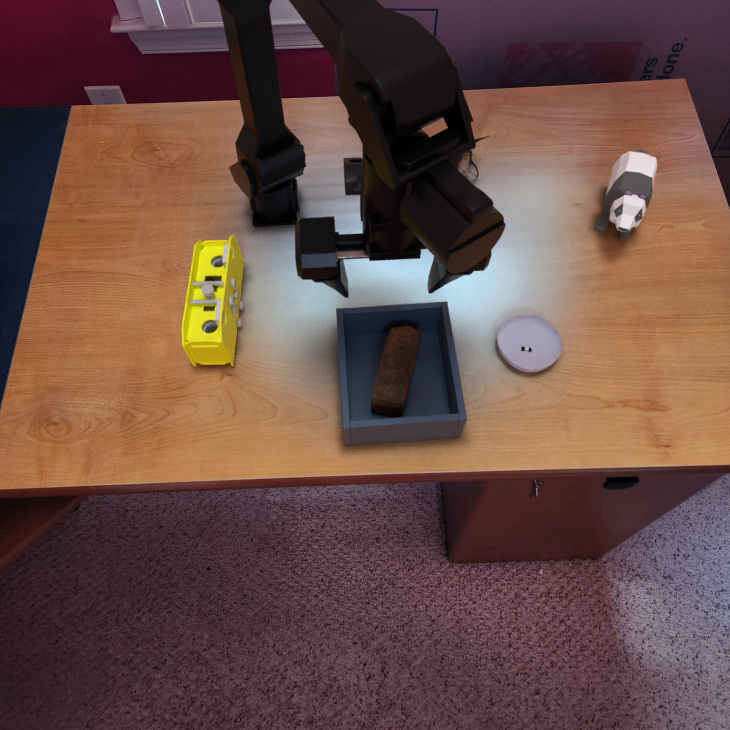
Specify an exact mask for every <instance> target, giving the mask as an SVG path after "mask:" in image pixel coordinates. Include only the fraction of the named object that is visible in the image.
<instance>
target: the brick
mask: <svg viewBox="0 0 730 730" xmlns="http://www.w3.org/2000/svg"><path fill="white" fill-rule="evenodd" d="M421 338H422V332H421V331H419V330H418V329H414V328H413V327H411V326H402V327H393V328H392V329H391V330H390V332H389V335H388V338H387V342H386V345H385V348H384V352H383V355H382V359H381V362H380V366H379V370H378V374H377V378H376V381H375V385H374V389H373V392H372V397H371V412H373V413H377V414H381V415H386V416H390V417H394V418H399V416H401V415H403V413H404V410H405V404H406V401H407V397H408V392H409V389H410V385H411V381H412V376H413V372H414V368H415V364H416V361H417V356H418V352H419V348H420V343H421Z"/></svg>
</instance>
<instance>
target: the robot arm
mask: <svg viewBox="0 0 730 730" xmlns="http://www.w3.org/2000/svg"><path fill="white" fill-rule="evenodd" d="M216 2H217V3H218V7H219V11H220V15H221V20H222V25H223V30H224V34H225V39H226V43H227V48H228V52H229V57H230V62H231V69H232V71H233V76H234V82H235V87H236V91H237V96H238V100H239V105H240V110H241V115H242V120H243V124H242V127H241V129H240V131H239V133H238V135H237V138H236V140H235V152H236V157H237V161H236V162H234V163H233V164H231V165H230V166H228V169H229V171H230V174H231V177H232V178H233V179H232V180H233V181H234V183H235V184H236V186H237V187H238V188H239V189H240V190H241V191H242V193H243V194H244V195H245V197H247V199H248V202H249V206H250V209H251V224H252V225H251V226H252V227H254V228H265V227H266V228H267V227H281V226H294V260H295V269H296V274H297V277H298V278H300V279H301V280H303V281H310V280H311V281H312V282H313V283H316V284H323V285H326V286H328V287H329V288H331V289H333V290H335V291H336V292H337V293H339V294H340V295H341V296H342V297H344V298H345V299H346V298H348V299H349V297H350V291H349V278H348V275H347V270H346V266H345V262H344V260H359V259H360V260H362V259H368V261H369V262H378V261H398V260H401V261H402V260H418V259H421V255H422V250H427V251H429V253H431V255H432V256H433V258H432V261H431V262H432V263H431V266H430V269H429V272H428V275H427V276H428V277H427V284H426V285H427V292H428V294H433V293H435V292H436V291H438V290H439V289H441V288H443V287H445V286H446V285H448V284H449V283H451V282H453V281H455V280H457V279H459V278H460V279H461V278H462V277H464V276H470V275H472V274H473V273H474V272H484V271H485V270H486V269H487V268H488V267H489V265H490V261H491V258H492V253H493V251H492V250H493V249H494V247H495V246H496V245H497V244H498V242H499V241H500V239H501V237H502V236H503V234H504V231H505V229H506V224H507V223H506V222H505V217H504V216H503V213H501V212H500V211H499V210H498V209H497V208H496V207H495V206H494V201H493V199H492V198H491V197H490V196H489V195H488V194H486V192H484V190H482V189H480V188H479V187H477V186H476V185H475V184H473V183H472V181H471V180H469V178H468V179H467V177H466V175H464V174H463V173H462V171H460V170H459V163H460V162H459V159H460V156H461V155H463V156H464V154H465V153H467V152H469V151H474V149H476V147H477V145H476V144H477V143H475V139H476V138H475V136H474V132H473V131H474V130H473V127H472V122H474V118H473V116H472V112H471V110H470V108H469V105H468V102H467V99H466V97H465V93H464V91H463V87H462V83H461V79H460V75H459V72H458V67H457V66H456V61H455V60H454V59H453V57H452V55H451V54H450V52H449V50H448V49H447V48H446V47H445V45H444V44H443V43H442V42H441V41H440V40H439V39H438V38H436V36H435V35H433V34H432V33H431V32H430V31H429V30H428V28H426V27H425V26H424V25H423V24H422V23H421V22H420V21H418V20H417V19H416V18H415V17H412V16H409V15H406V14H403V13H401V12H398V11H395V10H392V9H389V8H386V7H385V6H384V5H383V4H382V3H380V2H379V0H288V2H289V3H290V4H291V5H292V7H293V8H294V10H295V11H296V12H297V13H298V15H299V16H300V18H301V19H302V20H303V22H304V23H305V24H306V26H308V28H309V30H310V31H311V32H312V33H313V35H314V36H315V38H316V39H317V40H318V41H319V43H320V44H321V45H322V47H323V49H325V51H326V53H328V55H329V57H330V58H331V60H332V61H333V63H334V65H335V66H336V69H337V70H336V71H337V73H336V74H337V89H338V91H337V93H338V97H339V99H340V101H341V102H342V104H343V105H344V107H345V108H346V112H347V115H348V117H347V121H348V124H349V125H350V126H351V127H352V128H353V130H355V131H356V132H355V133H356V134H357V136H358V138H359V140H360V142H361V144H362V145H361V147H362V148H361V149H362V157H361V156H358V157H353V156H352V157H343V180H344V194H345V196H348V197H349V196H350V197H351V196H359V215H360V216H359V217H360V222H362V232H360V233H341V234H339V233H340V232H339V231H336V220H335V216H334V215H329V216H309V217H300V218H299V219H298V213H299V212H300V211H301V197H300V190H299V185H298V177H301V176H303V175H304V171H305V168H306V167H307V163H306V159H307V158H306V156H307V155H306V152H305V146H304V145H303V144H302V143H301V140H300V139H299V138H298V136H296V134H295V133H293V131H292V130H291V128H289V127H288V125H287V124H286V121H285V114H284V108H283V107H284V106H283V99H282V91H281V84H280V75H279V69H278V62H277V55H276V48H275V47H276V46H275V39H274V31H273V24H272V17H271V9H270V8H271V4H272V3H273V0H216ZM442 119H443V121H444V122H445V125H446V127H447V128H445V129H442V130H440V131H439V132H436V133H435V134H433V135H431V136H429V134H427V132H425V131H424V128H426V127H428V126H430V125H433V124H434V123H436V122H438V121H441V120H442ZM467 154H468V153H467ZM465 155H466V154H465ZM470 181H471V182H470Z"/></svg>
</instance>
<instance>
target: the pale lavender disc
mask: <svg viewBox="0 0 730 730" xmlns="http://www.w3.org/2000/svg"><path fill="white" fill-rule="evenodd" d="M496 345H497V349H498V352H499V354H500V355H501V356H502V358H503V359H504V360H505V361H506V363H508V364H509V365H510V366H512V367H513V368H514V369H516V370H519V371H521V372H525V373H539V372H541V371H543V370H546V369H547V368H549V367H551V366H552V365H553V364H554V363H556V361H557V360H558V359H559V358H560V356H561V354H562V351H563V340H562V337H561V335H560V333H559V332H558V330H557V329H556V327H554V325H552V324H551V323H550V322H549V321H548V320H546V319H545V318H542V317H540V316H538V315H535V314H528V313H527V314H526V313H525V314H519V315H516V316H513V317H511V318H510V319H508V320H506V321H505V322H504V323H503V324H502V325H501V327H500V328H499V330H498V332H497V336H496Z"/></svg>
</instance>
